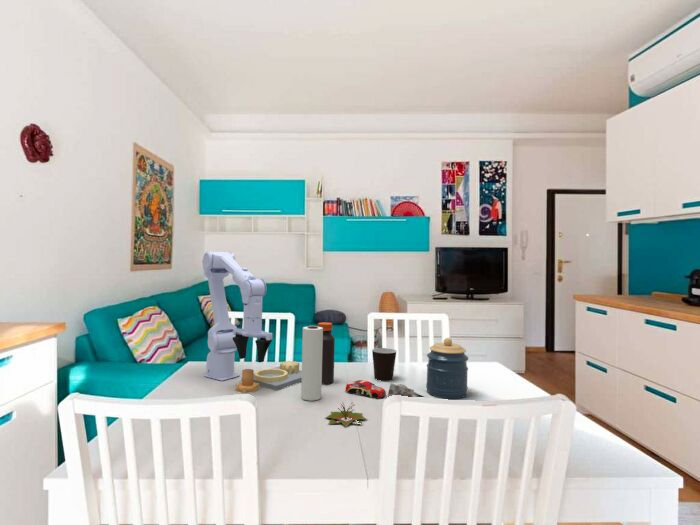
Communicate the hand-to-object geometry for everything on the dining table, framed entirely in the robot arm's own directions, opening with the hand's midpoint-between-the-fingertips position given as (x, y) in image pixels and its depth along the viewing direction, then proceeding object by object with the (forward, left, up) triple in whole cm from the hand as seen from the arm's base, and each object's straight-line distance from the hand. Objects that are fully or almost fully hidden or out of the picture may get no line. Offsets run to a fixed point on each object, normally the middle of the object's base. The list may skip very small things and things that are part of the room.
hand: (251, 360), depth 135 cm
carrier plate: (-1, +13, -9) cm, 16 cm away
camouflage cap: (+47, +16, -10) cm, 51 cm away
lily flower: (+38, -2, -10) cm, 39 cm away
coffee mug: (+27, +39, -10) cm, 48 cm away
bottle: (+13, +21, -10) cm, 26 cm away
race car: (+31, +19, -10) cm, 38 cm away
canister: (+51, +36, -10) cm, 63 cm away
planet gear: (-1, -1, -9) cm, 9 cm away
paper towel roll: (+20, +6, -10) cm, 23 cm away
